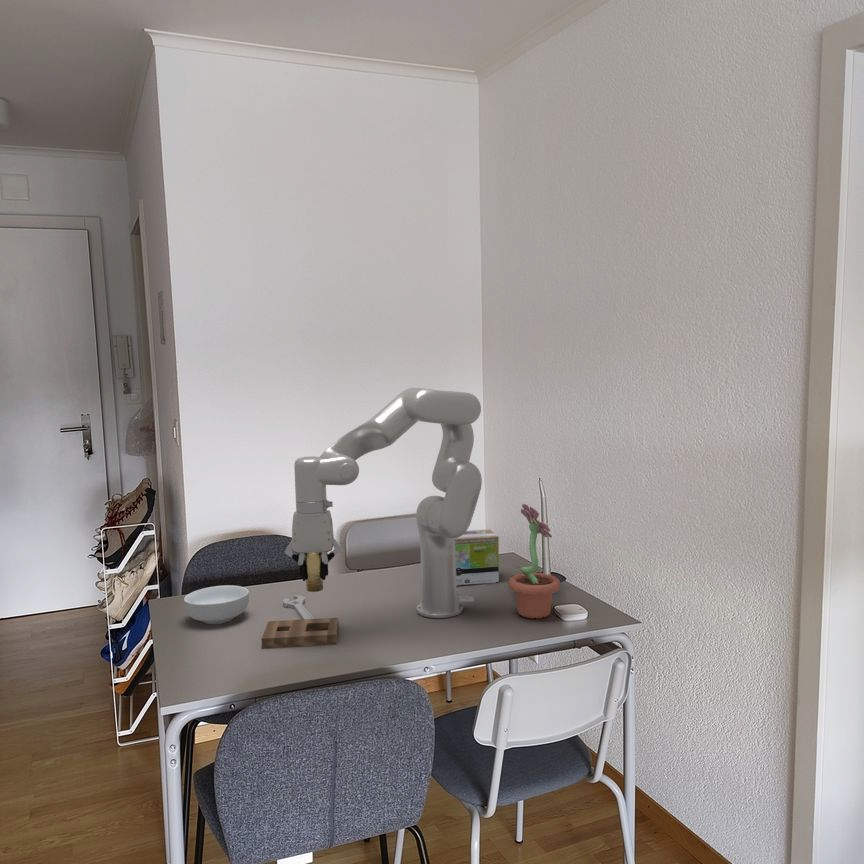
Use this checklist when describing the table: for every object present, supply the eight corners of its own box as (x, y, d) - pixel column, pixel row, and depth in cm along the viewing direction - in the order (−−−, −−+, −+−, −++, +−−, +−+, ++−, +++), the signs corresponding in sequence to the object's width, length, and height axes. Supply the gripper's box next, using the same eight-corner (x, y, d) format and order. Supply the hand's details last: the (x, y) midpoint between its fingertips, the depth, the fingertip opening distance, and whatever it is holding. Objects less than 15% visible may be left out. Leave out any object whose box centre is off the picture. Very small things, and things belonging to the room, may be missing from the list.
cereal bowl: (250, 606, 220) (248, 581, 220) (250, 626, 204) (249, 600, 203) (187, 612, 216) (185, 588, 216) (183, 633, 200) (181, 607, 200)
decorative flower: (572, 620, 201) (571, 506, 198) (523, 627, 197) (521, 511, 194) (546, 602, 215) (545, 496, 212) (500, 609, 211) (498, 501, 208)
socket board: (338, 626, 202) (338, 617, 201) (336, 644, 190) (336, 634, 190) (268, 630, 200) (268, 621, 200) (262, 648, 189) (261, 638, 188)
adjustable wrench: (319, 629, 202) (319, 622, 202) (294, 633, 200) (294, 626, 200) (303, 599, 225) (302, 594, 225) (280, 602, 223) (280, 596, 223)
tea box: (451, 587, 232) (450, 539, 230) (444, 578, 242) (442, 531, 240) (499, 583, 235) (498, 535, 233) (490, 573, 244) (489, 527, 243)
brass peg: (323, 586, 196) (322, 547, 195) (322, 591, 192) (321, 551, 191) (307, 587, 196) (305, 548, 195) (305, 592, 192) (303, 552, 191)
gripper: (346, 502, 196) (348, 573, 198) (278, 505, 195) (282, 576, 197) (345, 508, 189) (347, 582, 191) (275, 511, 187) (278, 585, 189)
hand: (314, 578), depth 194 cm, fingers closed on brass peg, 4 cm apart
